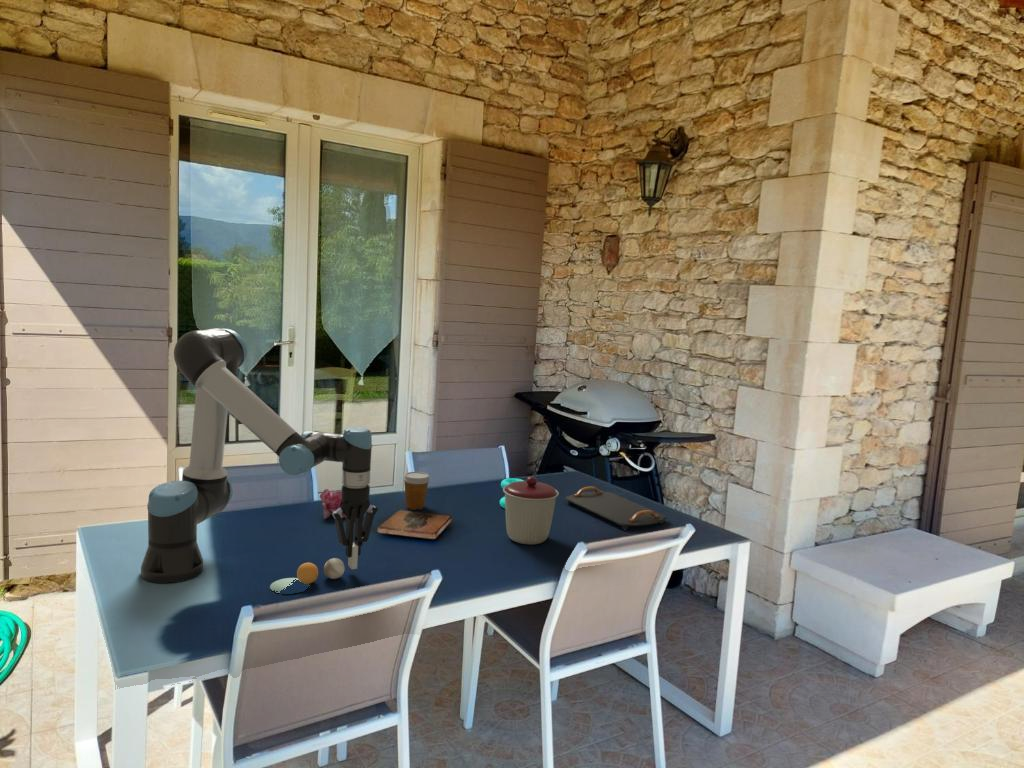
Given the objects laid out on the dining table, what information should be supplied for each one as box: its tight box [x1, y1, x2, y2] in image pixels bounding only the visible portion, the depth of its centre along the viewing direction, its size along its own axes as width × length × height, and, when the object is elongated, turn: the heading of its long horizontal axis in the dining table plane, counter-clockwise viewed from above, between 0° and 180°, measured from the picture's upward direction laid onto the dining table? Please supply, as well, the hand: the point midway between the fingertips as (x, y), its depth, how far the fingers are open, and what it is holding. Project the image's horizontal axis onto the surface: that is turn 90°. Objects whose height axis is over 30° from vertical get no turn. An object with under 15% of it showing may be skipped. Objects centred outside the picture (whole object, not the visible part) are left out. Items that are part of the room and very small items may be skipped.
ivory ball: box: [323, 557, 346, 580], centre depth 193 cm, size 6×6×6 cm
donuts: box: [499, 477, 525, 510], centre depth 265 cm, size 10×10×10 cm
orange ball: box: [296, 562, 319, 585], centre depth 189 cm, size 6×6×6 cm
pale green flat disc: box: [269, 577, 311, 594], centre depth 187 cm, size 10×10×1 cm
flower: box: [319, 488, 346, 520], centre depth 243 cm, size 11×10×10 cm
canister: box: [502, 476, 560, 546], centre depth 232 cm, size 18×18×21 cm
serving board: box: [564, 485, 667, 530], centre depth 267 cm, size 39×23×6 cm, turn 34°
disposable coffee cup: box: [402, 471, 431, 511], centre depth 257 cm, size 10×10×12 cm
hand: (352, 567), depth 197 cm, fingers closed
